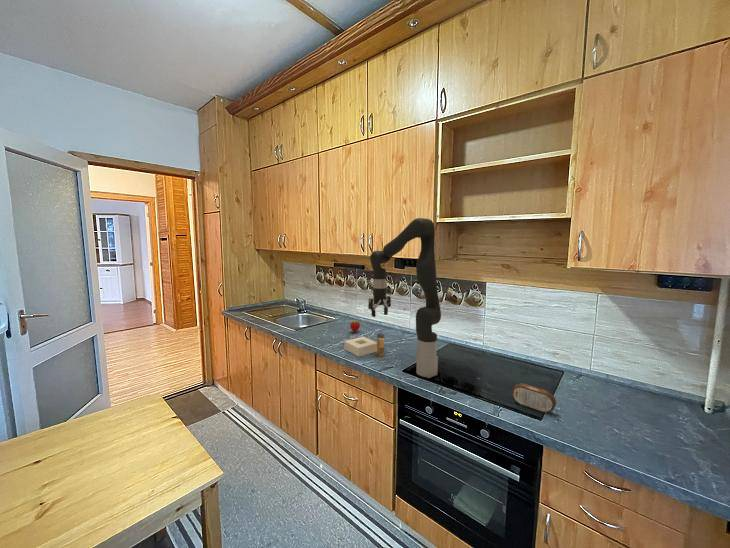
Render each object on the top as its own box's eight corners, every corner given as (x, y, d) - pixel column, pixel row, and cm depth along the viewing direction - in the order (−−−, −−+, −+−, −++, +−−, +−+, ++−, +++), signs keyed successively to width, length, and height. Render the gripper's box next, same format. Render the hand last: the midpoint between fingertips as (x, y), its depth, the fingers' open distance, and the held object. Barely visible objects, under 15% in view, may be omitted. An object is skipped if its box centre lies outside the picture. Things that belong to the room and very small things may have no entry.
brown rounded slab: (555, 413, 114) (557, 392, 113) (553, 417, 112) (555, 395, 111) (512, 399, 124) (514, 380, 123) (510, 402, 122) (511, 382, 121)
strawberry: (362, 332, 209) (362, 318, 208) (353, 334, 204) (353, 320, 203) (356, 330, 214) (356, 316, 212) (348, 332, 209) (348, 318, 207)
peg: (385, 356, 168) (385, 335, 167) (379, 357, 166) (380, 336, 164) (380, 353, 171) (381, 333, 170) (375, 355, 169) (375, 334, 167)
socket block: (377, 351, 175) (377, 343, 174) (358, 356, 167) (358, 348, 166) (363, 344, 186) (363, 336, 186) (344, 349, 178) (344, 341, 177)
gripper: (373, 288, 159) (373, 319, 161) (393, 286, 167) (393, 315, 169) (365, 287, 165) (365, 316, 167) (385, 285, 174) (385, 312, 175)
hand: (379, 315), depth 168 cm, fingers open, 8 cm apart
